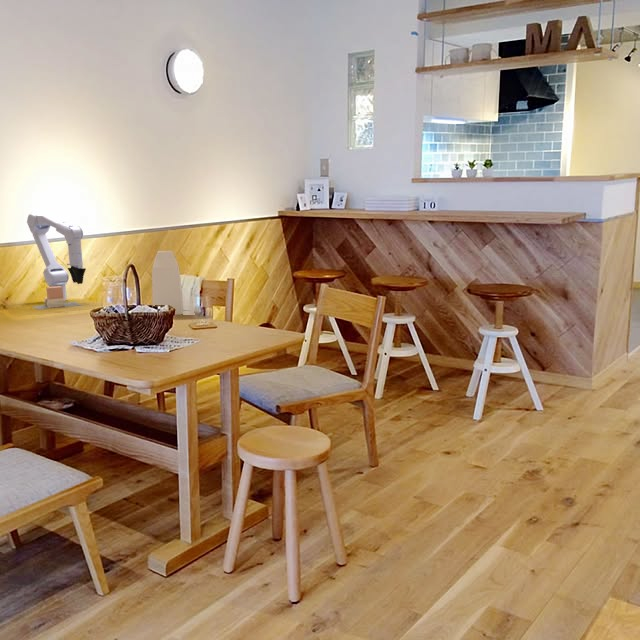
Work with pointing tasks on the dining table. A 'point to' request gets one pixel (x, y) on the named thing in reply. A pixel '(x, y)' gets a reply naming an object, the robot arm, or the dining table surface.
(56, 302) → the birch block
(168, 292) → the milk
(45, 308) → the baseplate
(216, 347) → the dining table surface
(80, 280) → the robot arm
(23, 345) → the dining table surface
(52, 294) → the terracotta brick
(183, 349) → the dining table surface
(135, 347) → the dining table surface
